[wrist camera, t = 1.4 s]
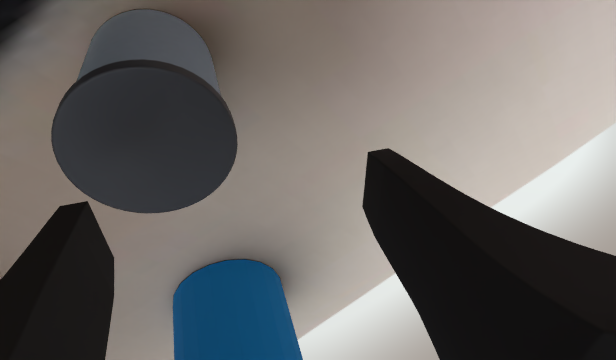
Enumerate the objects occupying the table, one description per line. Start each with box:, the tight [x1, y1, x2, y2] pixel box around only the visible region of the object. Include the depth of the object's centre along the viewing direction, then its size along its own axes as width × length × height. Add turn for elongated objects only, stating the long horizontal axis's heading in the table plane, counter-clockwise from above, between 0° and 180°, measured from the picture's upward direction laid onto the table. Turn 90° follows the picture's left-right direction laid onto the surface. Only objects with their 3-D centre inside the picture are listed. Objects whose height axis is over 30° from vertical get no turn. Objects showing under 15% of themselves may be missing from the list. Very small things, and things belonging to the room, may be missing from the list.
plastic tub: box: [51, 9, 237, 213], centre depth 15 cm, size 5×5×6 cm
